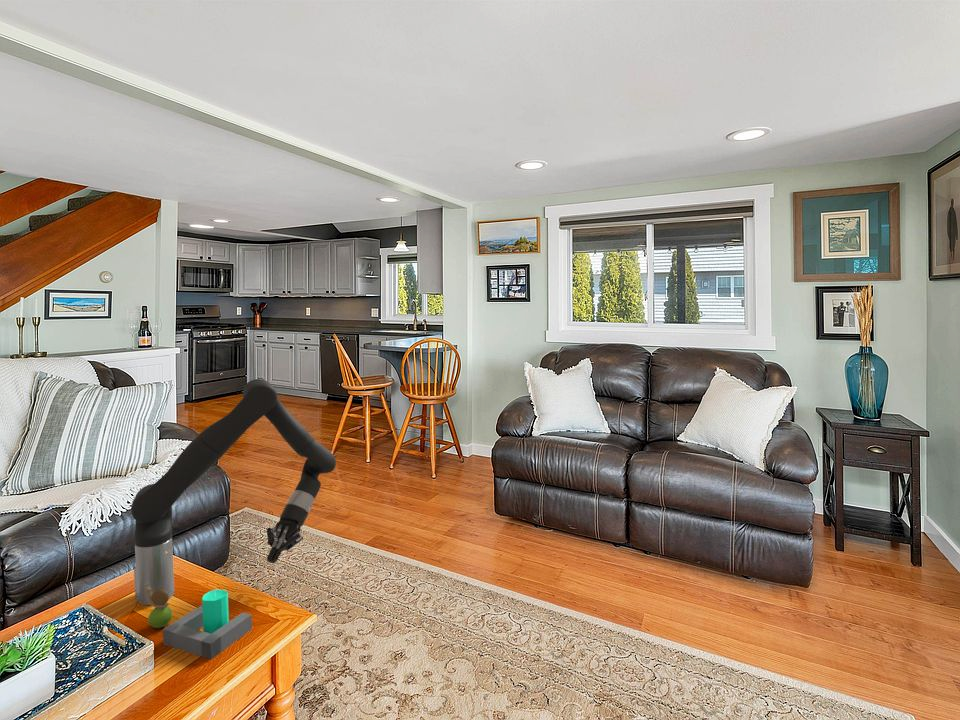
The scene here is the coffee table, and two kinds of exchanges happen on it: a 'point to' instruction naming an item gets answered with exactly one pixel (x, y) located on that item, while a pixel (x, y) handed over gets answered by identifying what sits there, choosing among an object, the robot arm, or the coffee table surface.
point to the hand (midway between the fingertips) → (270, 562)
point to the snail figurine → (158, 607)
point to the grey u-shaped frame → (204, 634)
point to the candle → (215, 610)
